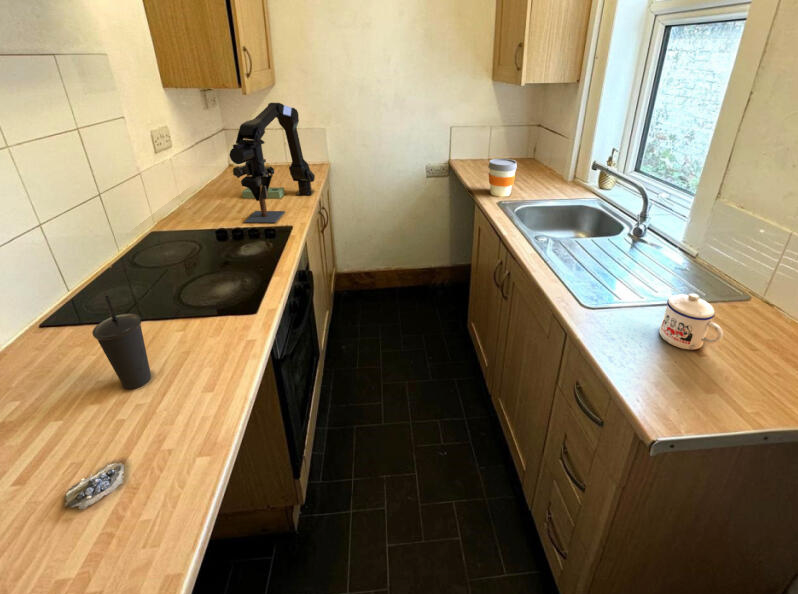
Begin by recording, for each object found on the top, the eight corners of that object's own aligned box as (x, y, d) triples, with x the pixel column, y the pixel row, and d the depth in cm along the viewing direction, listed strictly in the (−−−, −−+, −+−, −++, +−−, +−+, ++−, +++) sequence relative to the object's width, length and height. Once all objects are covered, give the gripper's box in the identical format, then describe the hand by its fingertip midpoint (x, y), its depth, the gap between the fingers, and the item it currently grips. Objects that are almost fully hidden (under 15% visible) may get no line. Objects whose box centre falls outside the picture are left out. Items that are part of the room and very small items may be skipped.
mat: (255, 212, 171) (255, 210, 171) (284, 212, 171) (284, 211, 171) (244, 223, 160) (243, 221, 160) (275, 223, 160) (274, 221, 160)
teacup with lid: (649, 333, 98) (662, 291, 93) (672, 322, 102) (685, 280, 97) (703, 364, 88) (720, 318, 83) (725, 349, 92) (742, 305, 88)
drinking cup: (110, 400, 79) (74, 312, 71) (118, 374, 85) (86, 290, 77) (156, 388, 82) (127, 302, 74) (161, 363, 88) (134, 282, 80)
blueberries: (54, 506, 61) (49, 498, 60) (102, 458, 68) (98, 450, 67) (93, 516, 59) (88, 508, 58) (137, 466, 66) (134, 458, 66)
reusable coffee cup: (519, 194, 192) (523, 162, 186) (500, 199, 186) (503, 166, 180) (500, 187, 202) (502, 157, 195) (481, 192, 195) (483, 160, 189)
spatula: (260, 215, 166) (255, 185, 161) (271, 215, 166) (266, 185, 161) (258, 217, 164) (253, 186, 159) (269, 217, 164) (264, 186, 159)
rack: (248, 193, 194) (247, 187, 192) (284, 193, 193) (284, 187, 192) (242, 198, 187) (241, 191, 186) (280, 198, 187) (279, 192, 186)
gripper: (244, 152, 164) (250, 190, 171) (223, 163, 147) (231, 205, 154) (271, 152, 164) (277, 190, 171) (254, 164, 147) (261, 205, 154)
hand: (261, 197), depth 162 cm, fingers open, 8 cm apart
